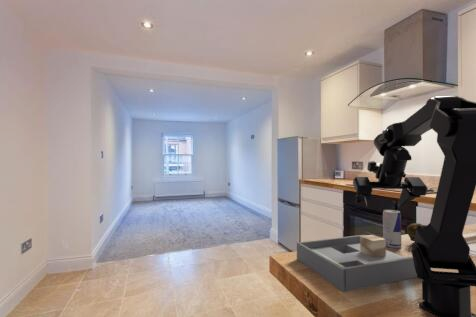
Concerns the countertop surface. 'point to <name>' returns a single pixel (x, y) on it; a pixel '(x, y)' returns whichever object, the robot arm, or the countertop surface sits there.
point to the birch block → (373, 245)
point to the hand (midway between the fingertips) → (382, 206)
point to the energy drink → (392, 228)
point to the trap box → (353, 263)
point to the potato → (412, 230)
